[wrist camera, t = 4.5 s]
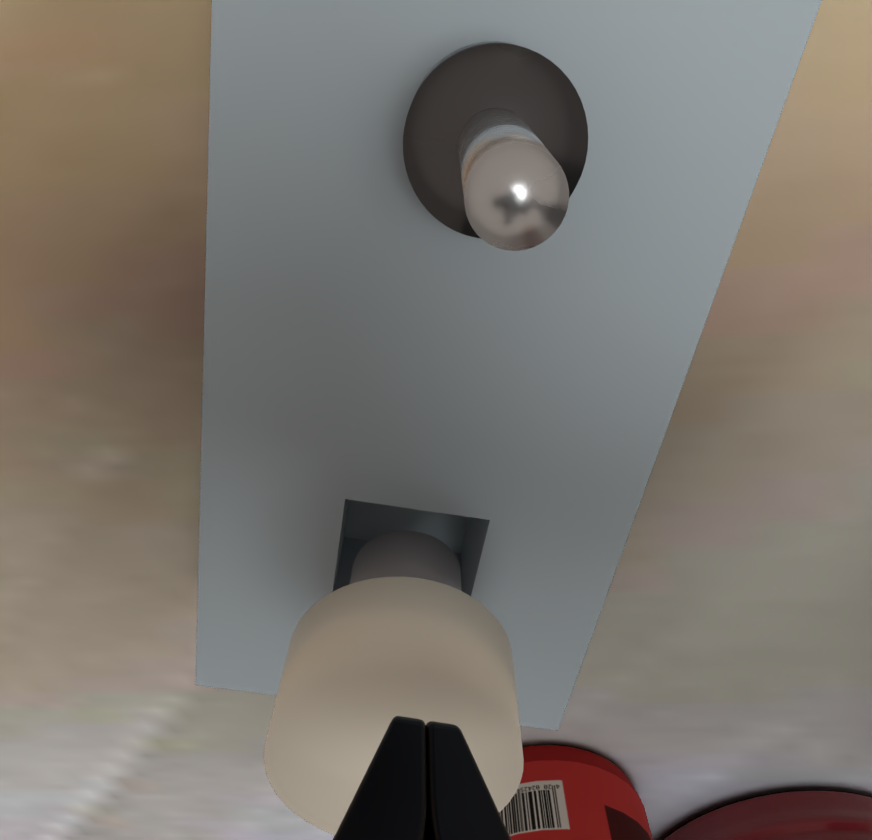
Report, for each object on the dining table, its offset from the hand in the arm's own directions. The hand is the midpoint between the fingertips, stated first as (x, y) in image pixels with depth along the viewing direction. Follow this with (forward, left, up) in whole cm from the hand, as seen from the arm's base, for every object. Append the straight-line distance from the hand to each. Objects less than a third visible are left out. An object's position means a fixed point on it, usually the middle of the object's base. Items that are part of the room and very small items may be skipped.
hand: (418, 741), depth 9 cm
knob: (0, +4, -8) cm, 9 cm away
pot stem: (0, -6, -8) cm, 10 cm away
